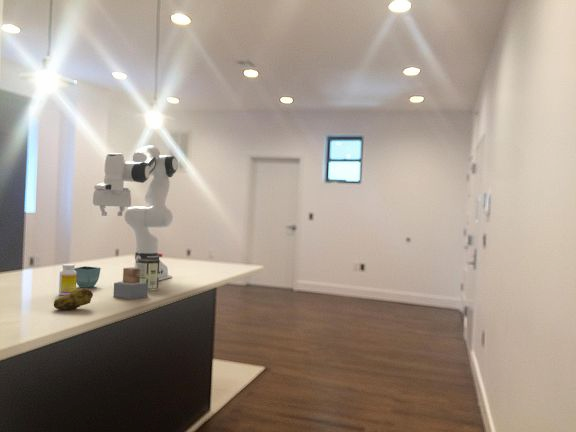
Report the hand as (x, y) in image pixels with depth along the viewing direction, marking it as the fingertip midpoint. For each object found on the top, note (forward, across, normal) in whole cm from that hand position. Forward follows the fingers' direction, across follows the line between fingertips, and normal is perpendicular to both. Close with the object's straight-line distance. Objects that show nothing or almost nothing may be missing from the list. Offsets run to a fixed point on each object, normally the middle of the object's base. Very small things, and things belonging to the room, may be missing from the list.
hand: (112, 215), depth 233 cm
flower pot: (+34, +6, -8) cm, 36 cm away
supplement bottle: (+34, +24, +2) cm, 42 cm away
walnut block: (+28, +9, +24) cm, 38 cm away
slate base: (+34, +9, +24) cm, 43 cm away
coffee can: (+34, -10, +15) cm, 39 cm away
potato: (+34, +41, +28) cm, 60 cm away
